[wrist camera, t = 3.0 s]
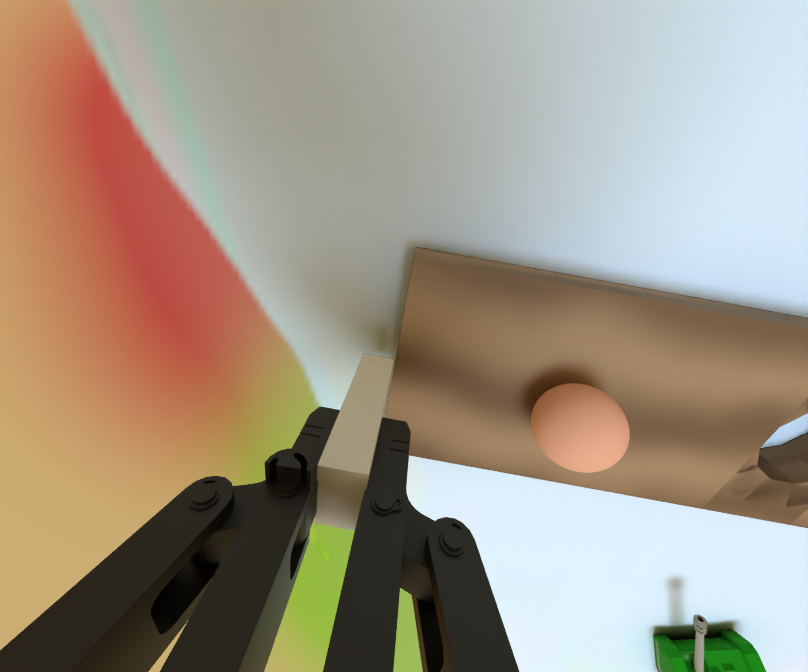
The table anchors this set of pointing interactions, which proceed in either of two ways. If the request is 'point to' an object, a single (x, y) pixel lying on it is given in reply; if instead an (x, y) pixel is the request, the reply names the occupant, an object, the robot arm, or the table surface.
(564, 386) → the coral ball
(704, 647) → the toy tank
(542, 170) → the table surface
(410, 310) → the walnut board
